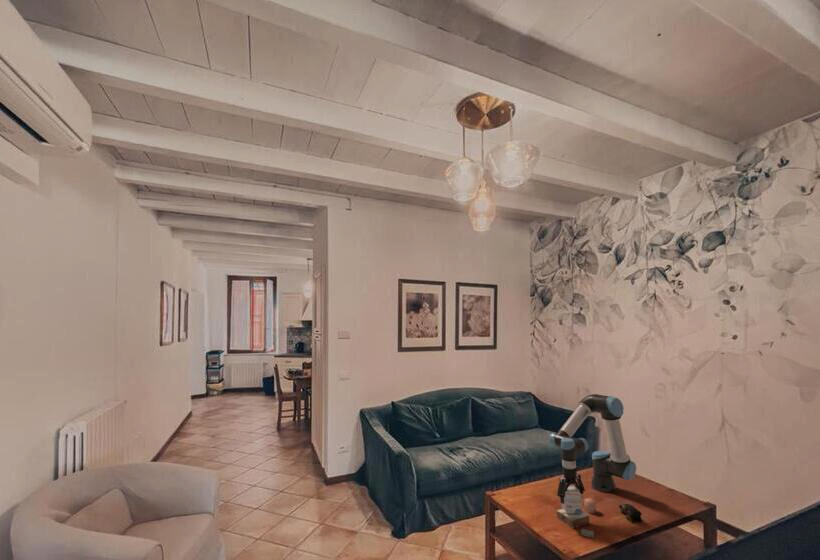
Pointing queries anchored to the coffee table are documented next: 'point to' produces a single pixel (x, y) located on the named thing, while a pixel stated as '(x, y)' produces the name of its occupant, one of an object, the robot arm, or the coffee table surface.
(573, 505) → the ink box
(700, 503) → the coffee table surface
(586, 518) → the plinth
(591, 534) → the gray rectangular block
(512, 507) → the coffee table surface
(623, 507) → the sculpture
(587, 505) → the tan rounded cylinder
